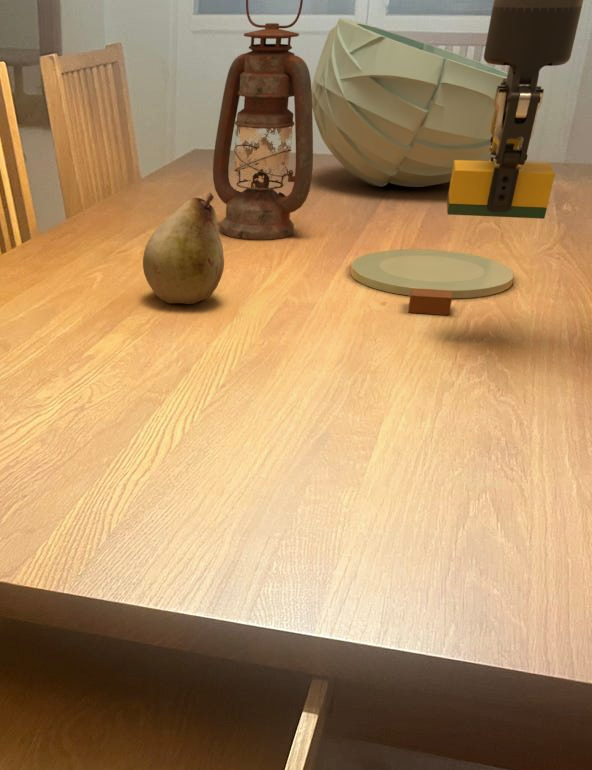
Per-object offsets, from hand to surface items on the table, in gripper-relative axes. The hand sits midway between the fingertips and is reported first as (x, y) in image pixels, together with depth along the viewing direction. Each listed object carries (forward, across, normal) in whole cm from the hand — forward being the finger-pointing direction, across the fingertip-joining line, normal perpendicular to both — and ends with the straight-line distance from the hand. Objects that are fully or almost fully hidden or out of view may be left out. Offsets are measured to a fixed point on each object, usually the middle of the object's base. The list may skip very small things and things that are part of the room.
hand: (496, 203), depth 95 cm
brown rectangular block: (+13, +9, +4) cm, 17 cm away
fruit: (+13, +6, +33) cm, 36 cm away
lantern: (+13, +44, +30) cm, 55 cm away
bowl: (+14, +86, +9) cm, 88 cm away
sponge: (+1, 0, 0) cm, 1 cm away
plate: (+13, +24, +4) cm, 28 cm away
